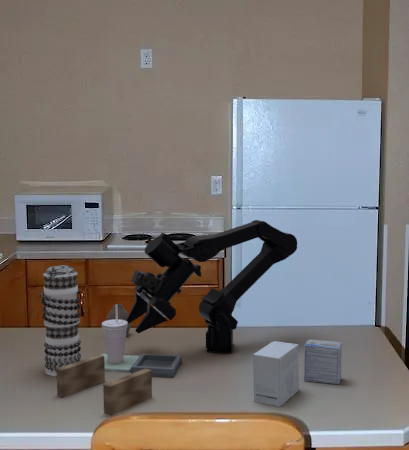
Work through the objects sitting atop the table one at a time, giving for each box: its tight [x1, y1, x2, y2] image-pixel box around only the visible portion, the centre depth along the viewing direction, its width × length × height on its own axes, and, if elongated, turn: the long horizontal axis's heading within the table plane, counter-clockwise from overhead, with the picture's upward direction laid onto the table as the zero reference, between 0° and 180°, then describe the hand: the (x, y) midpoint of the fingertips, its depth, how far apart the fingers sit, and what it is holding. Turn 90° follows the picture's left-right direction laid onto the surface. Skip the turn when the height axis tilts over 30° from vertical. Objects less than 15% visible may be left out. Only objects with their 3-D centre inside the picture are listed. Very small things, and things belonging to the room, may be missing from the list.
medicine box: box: [303, 339, 343, 385], centre depth 147 cm, size 8×4×9 cm, turn 71°
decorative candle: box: [40, 264, 82, 377], centre depth 153 cm, size 9×9×25 cm
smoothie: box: [101, 304, 128, 364], centre depth 158 cm, size 6×6×14 cm
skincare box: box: [252, 340, 300, 408], centre depth 138 cm, size 10×6×10 cm, turn 150°
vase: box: [105, 303, 132, 336], centre depth 182 cm, size 7×7×9 cm
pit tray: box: [130, 353, 183, 378], centre depth 155 cm, size 10×10×2 cm
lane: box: [56, 354, 153, 416], centre depth 138 cm, size 12×17×6 cm
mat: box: [100, 353, 140, 373], centre depth 159 cm, size 10×10×1 cm
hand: (131, 327), depth 159 cm, fingers open, 9 cm apart
